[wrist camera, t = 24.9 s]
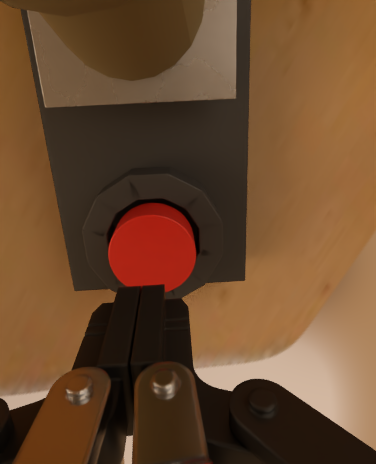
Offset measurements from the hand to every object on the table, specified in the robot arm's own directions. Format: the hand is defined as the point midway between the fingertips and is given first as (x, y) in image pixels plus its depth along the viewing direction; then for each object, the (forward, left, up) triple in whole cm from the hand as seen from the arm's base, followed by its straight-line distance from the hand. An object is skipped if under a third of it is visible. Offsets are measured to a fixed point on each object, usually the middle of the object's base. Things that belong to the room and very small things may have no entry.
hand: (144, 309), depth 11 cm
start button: (0, 0, -6) cm, 6 cm away
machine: (-5, 0, -10) cm, 12 cm away
